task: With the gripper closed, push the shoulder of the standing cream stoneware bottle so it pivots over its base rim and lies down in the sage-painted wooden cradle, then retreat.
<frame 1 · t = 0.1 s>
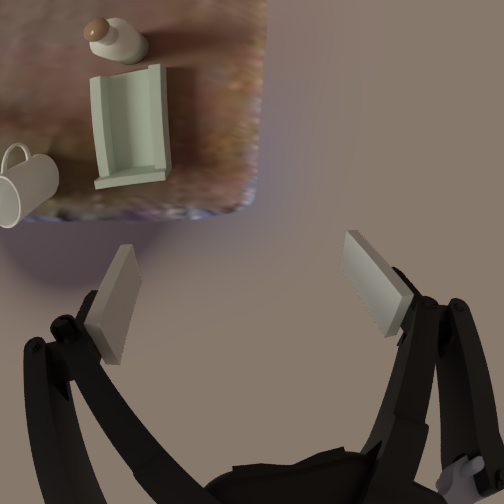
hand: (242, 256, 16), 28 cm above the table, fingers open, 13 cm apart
bottle: (132, 49, 29), on the table
mug: (41, 167, 35), on the table
cradle: (134, 122, 35), on the table
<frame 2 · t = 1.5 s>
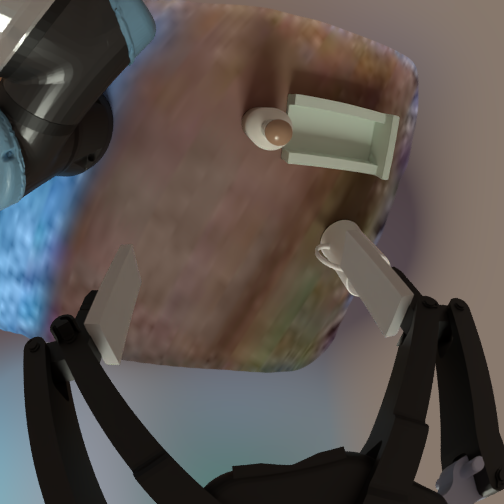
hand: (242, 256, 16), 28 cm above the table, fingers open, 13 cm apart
bottle: (258, 123, 38), on the table
mug: (333, 237, 50), on the table
cradle: (332, 133, 40), on the table
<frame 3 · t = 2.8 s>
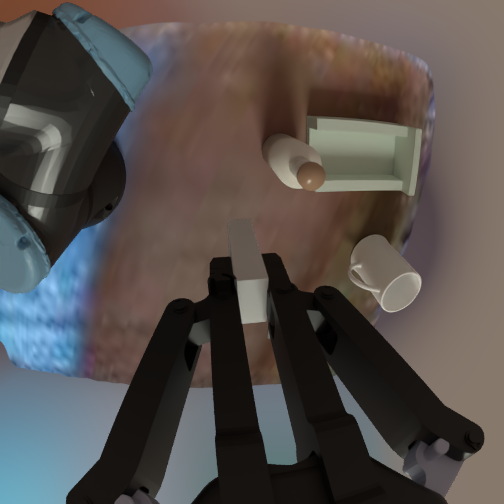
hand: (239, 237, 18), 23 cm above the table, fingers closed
bottle: (280, 150, 38), on the table
mug: (362, 253, 49), on the table
cradle: (355, 150, 39), on the table
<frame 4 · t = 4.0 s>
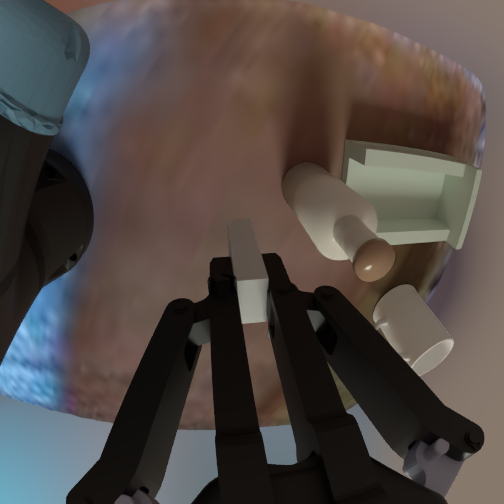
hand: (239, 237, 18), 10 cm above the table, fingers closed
bottle: (306, 186, 28), on the table
mug: (387, 304, 40), on the table
cradle: (398, 188, 29), on the table
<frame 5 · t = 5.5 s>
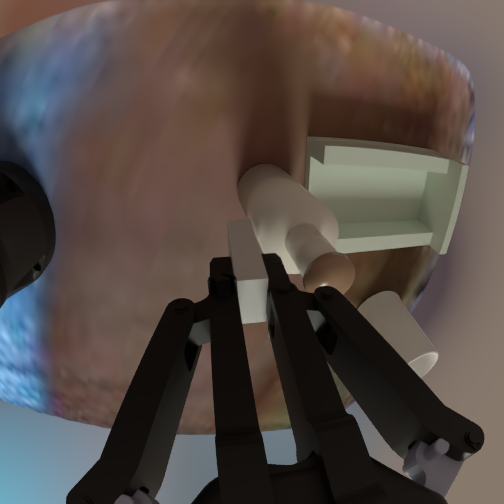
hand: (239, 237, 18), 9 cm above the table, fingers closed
bottle: (264, 190, 26), on the table
mug: (367, 311, 38), on the table
cradle: (372, 188, 27), on the table
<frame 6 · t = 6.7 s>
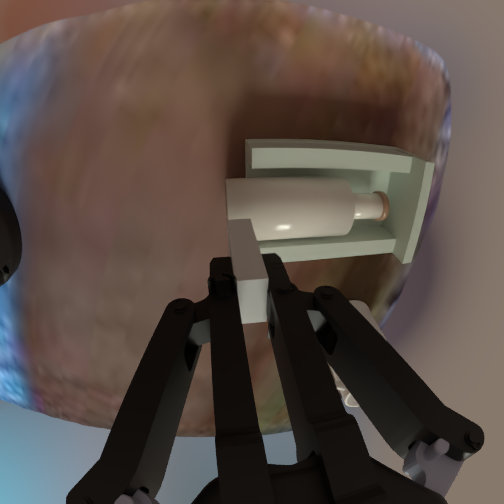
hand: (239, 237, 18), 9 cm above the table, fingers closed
bottle: (227, 210, 22), point 4 cm above the table, tilted 90°, touching cradle
mug: (332, 321, 37), on the table
cradle: (325, 191, 27), on the table
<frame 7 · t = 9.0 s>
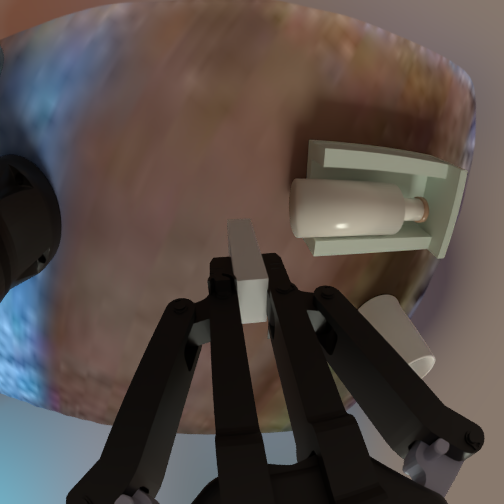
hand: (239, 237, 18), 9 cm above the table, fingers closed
bottle: (296, 208, 24), point 4 cm above the table, tilted 90°, touching cradle
mug: (366, 315, 38), on the table
cradle: (372, 191, 28), on the table
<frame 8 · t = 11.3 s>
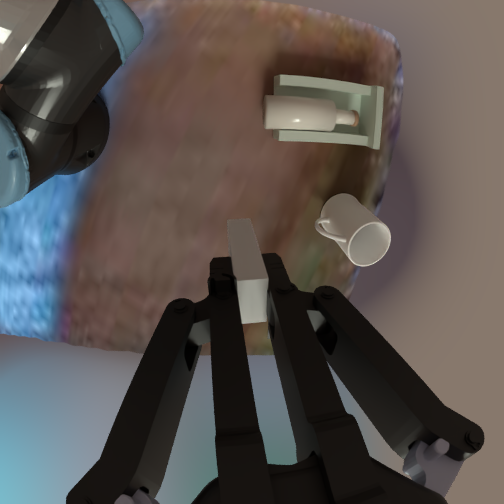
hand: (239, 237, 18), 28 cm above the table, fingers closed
bottle: (265, 111, 36), point 4 cm above the table, tilted 90°, touching cradle
mug: (333, 212, 51), on the table
cradle: (320, 109, 40), on the table
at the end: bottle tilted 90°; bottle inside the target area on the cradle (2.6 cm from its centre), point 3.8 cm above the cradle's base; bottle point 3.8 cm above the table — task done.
